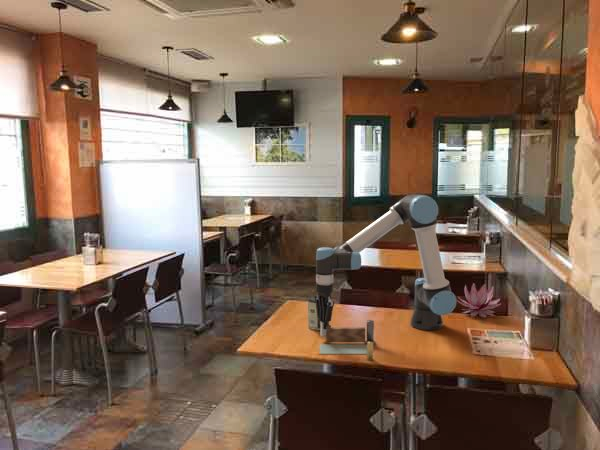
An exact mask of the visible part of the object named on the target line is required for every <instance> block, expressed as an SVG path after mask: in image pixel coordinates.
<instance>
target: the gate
mask: <svg viewBox="0 0 600 450" xmlns="http://www.w3.org/2000/svg"><path fill="white" fill-rule="evenodd" d="M365 341H366V327H365V326H364V327H360V326H359V327H358V326H357V327H356V326H355V327H354V326H353V327H349V326H348V327H332V325H331V324H329V325H326V336H325V343H364V342H365Z"/></svg>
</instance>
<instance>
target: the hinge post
mask: <svg viewBox="0 0 600 450" xmlns="http://www.w3.org/2000/svg"><path fill="white" fill-rule="evenodd" d="M374 324H375V321H374V320H372V319H368V320H366V339H365V342H363V345H366V346H367V342H368V341H371V342H373V346H376V344H377V342H376V341H375V340H374V339H375V335H374V333H375V331H374V329H375V325H374Z"/></svg>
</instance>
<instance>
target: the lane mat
mask: <svg viewBox="0 0 600 450" xmlns="http://www.w3.org/2000/svg"><path fill="white" fill-rule="evenodd" d="M318 348H319V352H318V353H319V355H367V345H365V344H344V343H343V344H340V343H339V344H337V343H335V344H332V343H331V344H328V343H327V344H323V343H322V344H321V343H320V344H319V347H318Z"/></svg>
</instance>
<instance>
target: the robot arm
mask: <svg viewBox="0 0 600 450" xmlns="http://www.w3.org/2000/svg"><path fill="white" fill-rule="evenodd" d="M438 205H439V204H437V202H436V201H435V199H434V198H433V197H430V196H429V195H425V194H418V193H417V194H416V193H410V194H408V195H406V196H403V198H401V199H399V200H398V201H396V203H394V204H393V205H391V206H390V207H389V211H387V212H386V213H384V214H383V215H382V216H380V217H378V218H377V219H376V220H374V221H373V222H372V223H371V224H369V225H368V226H366V227H365V228H364V229H362V230H361V231H359V232H358V233H357V234H355V235H354V236H353V237H351V238H350V239H348V240H347V241H345V243H342V245H337V246H335V247H334V248H332V247H327V246H325V247H324V246H322V247H318V248H317V249H316V253H315V254H316V255H315V257H316V258H315V282H316V283H315V293H317V294H316V295H317V296H314V295H313V296H314V298H315V301H316V310H317V318H319V320H320V330H319V331H320V332H319V333H320V334H319V335H320V337H326V325H328V322H329V323H330V322H331V321H332V315H333V310H334V306H335V301H332V293H333V292H334V271H337V270H344V271H345V270H347V271H348V270H349V271H350V270H352V271H353V270H360V268H361V267H362V256H361V255H362V254H361V252H363V251H364V250H365V249H366V248H368V247H369V246H371V245H372V244H374V243H375V242H377V240H379V239H381V238H382V237H383V236H384V235H386V234H388V232H390V231H391V230H393V229H394V228H396V227H397V226H398V225H404V224H405V223H407V222H409V226H410V229H411V230H413V231H414V233H415V238H416V243H417V247H418V248H417V249H418V253H419V258H420V263H421V267H422V272H423V277H418V278H417V279H415V281H414V309H413V312H412V314H411V318H410V322H409V323H410V325H411V327H413V328H415V329H418V330H424V331H436V330H437V331H439V330H441V329H442V328H443V327H444V321H443V317H442V316H447V315H449V314H452V312H453V310H454V309H455V308H456V306H457V302H458V301H457V300H458V299H457V297H456V295H455V294H454V292H452V290H451V289H452V288H451V285H450V281H449V280H448V279H446V278H445V272H444V268H443V264H442V263H443V262H442V257H441V253H440V247H439V243H438V237H437V232H436V229H435V227H436V226H437V224H438V219H437V217H438V215H439V206H438Z"/></svg>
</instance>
